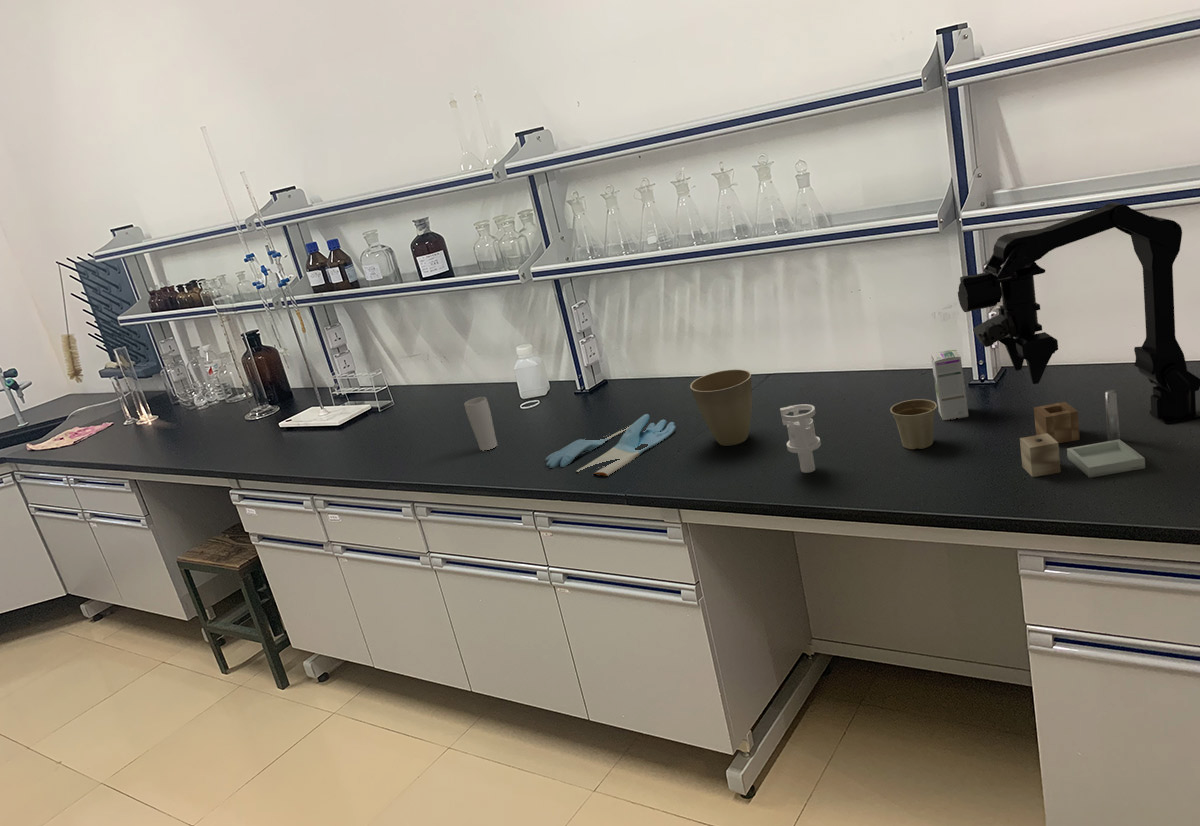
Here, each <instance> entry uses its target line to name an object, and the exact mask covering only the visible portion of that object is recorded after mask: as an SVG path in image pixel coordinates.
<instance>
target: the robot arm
mask: <svg viewBox="0 0 1200 826" xmlns="http://www.w3.org/2000/svg"><path fill="white" fill-rule="evenodd" d="M1114 228H1115V229H1117V230H1118V231H1120V232H1122V233H1124V234H1126V235H1129V236H1130V238H1131V242H1132V246H1133V251H1134V253H1135V255H1136V257H1137V258H1138V259H1137V260H1139V263H1140V264H1141V267H1142V279H1143V280H1142V281H1143V297H1144V298H1143V299H1144V300H1143V301H1144V302H1143V303H1144V320H1145V321H1144V322H1145V339H1144V342H1143V344H1142V345H1141V346H1134V348H1133V350H1134V351H1133V352H1134V355H1135V362H1134V364H1133V366H1134V367H1136V368H1138V371H1139V373H1140V374H1141V375H1142V376H1143V377H1145V378H1147V380H1148V381H1149V383H1150V384H1153V385H1154V386H1153V387H1152V394H1151V396H1150V411H1149V415H1151V416H1153V418H1155V419H1157V420H1159V421H1161V422H1162V423H1164V424H1166V425H1167V424H1173V423H1178V422H1179V423H1180V422H1185V421H1189V420H1195V419H1200V413H1198V412H1197V409H1196V408H1197V405H1196V404H1197V403H1196V402H1197V401H1196V398H1197V397H1196V392H1197V391H1199V390H1200V378H1199V377H1198V376H1196V375H1195V374H1193V373H1192V372H1190V371H1188V366H1187V362H1186V358H1185V354H1184V351H1183V349H1182V347H1181V346H1180V344H1179V342H1178V340H1177V337H1176V320H1175V318H1176V317H1175V296H1174V295H1175V294H1174V271H1173V269H1174V268H1173V267H1174V262H1175V261H1176V258H1177V257H1178V255H1179V253H1180V250H1181V245H1182V244H1181V243H1182V238H1183V237H1182V236H1183V229H1182V226H1181V225H1180V223H1178V222H1177V221H1175V220H1171V219H1169V218H1168V219H1167V218H1163V217H1157V216H1154V215H1148V214H1145V213H1143V212H1140V211H1138V210H1135V209H1133V208H1132V207H1130V206H1128V205H1127V204H1122V203H1118V202H1109V203H1107V204H1105V205H1103V206H1102V207H1099V208H1095V209H1093V210H1091V211H1088V212H1084V213H1082V214H1080V215H1079V214H1078V215H1076V216H1073V217H1071V218H1068V219H1065V220H1063V221H1060V222H1057V223H1054V224H1051V225H1049V226H1046V227H1043V228H1037V229H1027V230H1021V231H1016V232H1010V233H1006V234H1003V235H1001V236H999V237H998V238H997V239H996V241H995V244H994V245H993V249H992V251H993V253H992V255H991V257H990V258H989V260H988V261H987V263H986V265H985V266H984V268H983V272H980V273H977V274H973V275H964V276H960V278H959V280H960V281H959V282H960V283H959V284H958V291H957V297H958V302H959V306H960V308H961V310H962V311H963V312H964V313H968V312H972V311H978V310H979V311H980V310H983V309H987V308H988V309H989V308H991V307H995V306H997V305H998V303H1001V301H1002V305H999V308H998V314H997V315H995V316H992V317H991V318H988V319H986V320H985V321H984V322H982V323H980V324H978V325H977V326H975V327H973V329H972V331H973V333H974V334H975V336H976V338H977V340H978V342H979V343H980V344H982V345H983V347H984V348H988V347H992V345H995V343H996V342H1000V343H1001V344H1003V345H1004V347H1005V349H1006V351H1007V354H1008V356H1009V358H1010V361H1011V363H1012V365H1013V368H1014V371H1016V372H1017V371H1021V370H1022V369H1023V365H1024V361H1025V363H1026V366H1027V369H1028V373H1029V377H1030V380H1031V383H1032V384H1033V385H1037V384H1038V385H1039V383H1040V382H1041V379H1042V377H1043V375H1044V372H1045V370H1046V368H1047V365H1048V363H1049V362H1050V359H1051V358H1052V356H1053V354H1055V352H1057V351H1058V350H1059V343H1058V342H1059V341H1058V339H1057V338H1055V337H1054V336H1052V335H1050V334H1048V333H1047V332H1045V331H1044V332H1043V326H1042V324H1041V323H1039V320H1038V311H1041V304H1040V303H1037V300H1036V290H1035V279H1034V278H1035V277H1034V276H1037V275H1041V274H1045V273H1046V269H1045V268H1043V267H1041V266H1039V264H1037V261H1039V260H1042V258H1043V257H1045V255H1047V254H1049V252H1051V251H1053V250H1055V249H1058V248H1061V247H1063V246H1066V245H1068V244H1071V243H1074V242H1077V241H1080V240H1083V239H1086V238H1089V237H1091V236H1094V235H1097V234H1100V233H1103V232H1105V231H1109V230H1111V229H1114ZM1041 331H1042V332H1041ZM1036 332H1037V333H1036ZM1038 332H1039V333H1038Z"/></svg>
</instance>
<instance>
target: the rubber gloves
mask: <svg viewBox="0 0 1200 826" xmlns="http://www.w3.org/2000/svg"><path fill="white" fill-rule="evenodd" d="M649 420H650V415H649V414H648V413H646V414H643V415H642V416H640V417H639V418H638V419H637V420H636V421H634V422H633V423H632V424H631V425H628V426H629V427H628V426H626V427H627V428H626V427H625V428H626V429H624V428H623V429H624V430H622V429H620V430H621V431H620V430H619V431H617V432H615V433H613V434H610V435H611V436H610V435H609V437H608V436H606V437H607V438H605V439H600V440H585V438H583V439H582V438H579V439H576V440H574V441H573V442H570V443H569V444H567V445H566V446H564V447H562V448H560V449H559V450H557V451H554V452H552V453H550V454H549V455H548V456H546V458H545V459H544V461H545V462H546V461H547V460H548V462H546V464H545V466H546V467H547V466H549V465H550V466H549V469H550V468H553V467H555V466H557V465H558V466H560V468H561V467H564V466H566V465H568V464H569V465H570V464H571V463H572V462H573V461H574V460H575V459H576V458H577V457H576V456H578V455H580V454H581V453H582V452H585V451H591V450H593V449H595V448H596V449H598V448H597V447H599V446H600V445H602V444H603V443H605V441H607V440H609V439H611V438H612V437H614V436H616V435H618V434H620V433H622V432H623V431H625V430H626V431H625V433H623V434H621V437H620V439H619V441H618V442H617V444H616V445H614V446H613V447H612V448H610V449H608V450H607V451H606V452H605V453H603V454H602V455H600V456H598V457H596V458H594V459H593V460H591V461H590V462H588V463H587V464H585V465H584V466H581V467H580V468H578V469H577V470H575V473H576V472H579V471H580V470H583V469H585V468H587V467H590V466H593V465H595V464H599V463H602V462H606V461H610V460H615V459H620V460H617V461H615V462H613V463H611V464H609V465H607V466H606V467H605V466H603V467H602V468H600V469H599V470H596V471H595V472H594V473H593V474H600V475H605V476H608V477H610V476H611V475H610V474H612V473H613V474H615V473H616V472H618V471H619V470H621V469H623V468H624V467H626V466H627V465H629V464H630V463H631V461H632V460H633V461H634V460H636V459H637V458H638V457H639V456H640V455H641V454H643V453H644V452H645V451H648V450H650V449H652V448H654V447H656V446H658V445H659V444H660V442H661V441H662V442H664V441H665V440H666V439H667V438H669V437H670V436H671V435H673V434H674V433H675V430H677V429H676V424H675V422H673V421H671V422H669V423H668V424H667V420H666V419H661V420H659V421H658V422H657V424H655V423H654V422H650V423H649V424H648V422H649ZM647 424H648V426H647V427H646V425H647ZM645 427H646V428H645ZM644 428H645V429H646V430H645V429H644ZM643 429H644V430H645V431H644V430H643ZM660 431H661V432H660ZM664 439H665V440H664ZM662 442H661V443H662ZM658 443H659V444H658ZM605 444H606V443H605ZM641 444H648V446H647V447H645V448H643V449H641V450H635V448H637V447H638V446H640V445H641ZM657 444H658V445H657ZM655 445H656V446H655ZM602 446H603V445H602ZM653 446H654V447H653ZM600 447H601V446H600ZM600 447H599V448H600ZM649 448H650V449H649ZM596 449H595V450H596ZM593 451H594V450H593ZM591 452H592V451H591ZM575 457H576V458H575ZM636 457H637V458H636ZM635 458H636V459H635ZM633 461H632V462H633ZM628 463H629V464H628ZM626 464H627V465H626ZM569 465H568V466H569ZM625 465H626V466H625ZM558 466H557V467H558ZM623 466H624V467H623ZM622 467H623V468H622ZM564 468H565V467H564ZM620 468H621V469H620ZM553 469H554V468H553ZM618 469H619V470H618ZM617 470H618V471H617ZM615 471H616V472H615ZM614 472H615V473H614ZM613 474H612V475H613ZM600 475H599V476H600ZM609 475H610V476H609ZM605 476H604V477H605Z"/></svg>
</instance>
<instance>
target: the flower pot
mask: <svg viewBox="0 0 1200 826" xmlns="http://www.w3.org/2000/svg"><path fill="white" fill-rule="evenodd" d="M937 409H938V403H936V402H935V401H934V400H931V399H922V398H921V399H920V398H919V399H910V400H909V399H908V400H904V401H900V402H898V403H895V404H894V405H892V406H891V407H890V408H889V410H890V413H891V414H892V415H893V419H895V423H896V425H897V430H898V432H899V433H898V434H899V436H900V440H901V445H902V447H904V448H905V449H909V450H915V449H920V450H921V449H926V448H929V447H930V446H932V445H933V443H934V424H935V423H934V422H935V414H936V410H937Z"/></svg>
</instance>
